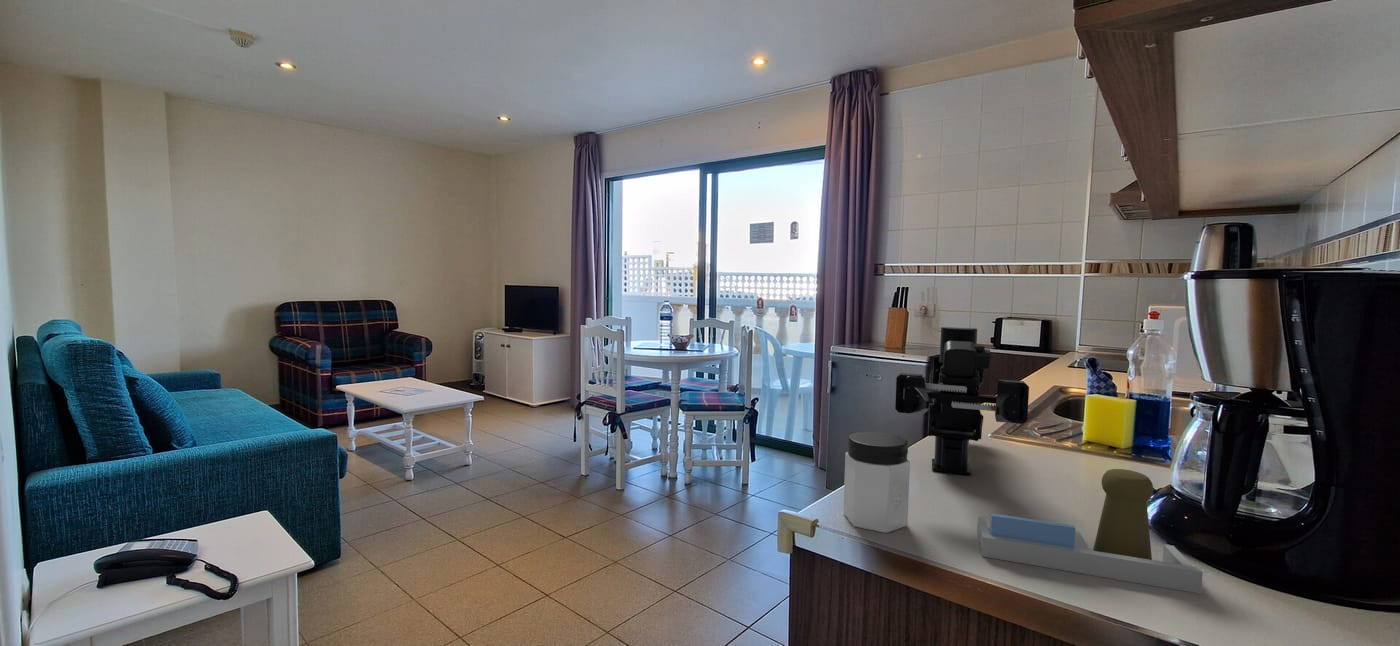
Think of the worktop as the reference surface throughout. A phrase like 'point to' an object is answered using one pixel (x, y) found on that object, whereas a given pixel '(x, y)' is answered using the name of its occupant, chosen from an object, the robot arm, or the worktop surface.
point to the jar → (876, 481)
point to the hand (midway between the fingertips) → (961, 407)
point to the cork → (1125, 514)
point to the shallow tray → (1080, 553)
